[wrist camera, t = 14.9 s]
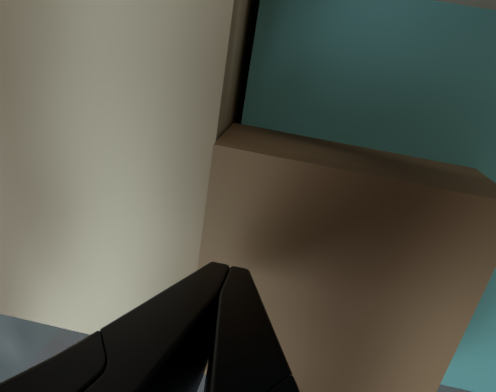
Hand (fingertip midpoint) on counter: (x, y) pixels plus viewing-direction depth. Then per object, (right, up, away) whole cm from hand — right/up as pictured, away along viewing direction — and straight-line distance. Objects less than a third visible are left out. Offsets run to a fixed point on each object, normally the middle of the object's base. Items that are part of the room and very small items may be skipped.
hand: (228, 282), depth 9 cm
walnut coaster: (+3, 0, +3) cm, 4 cm away
